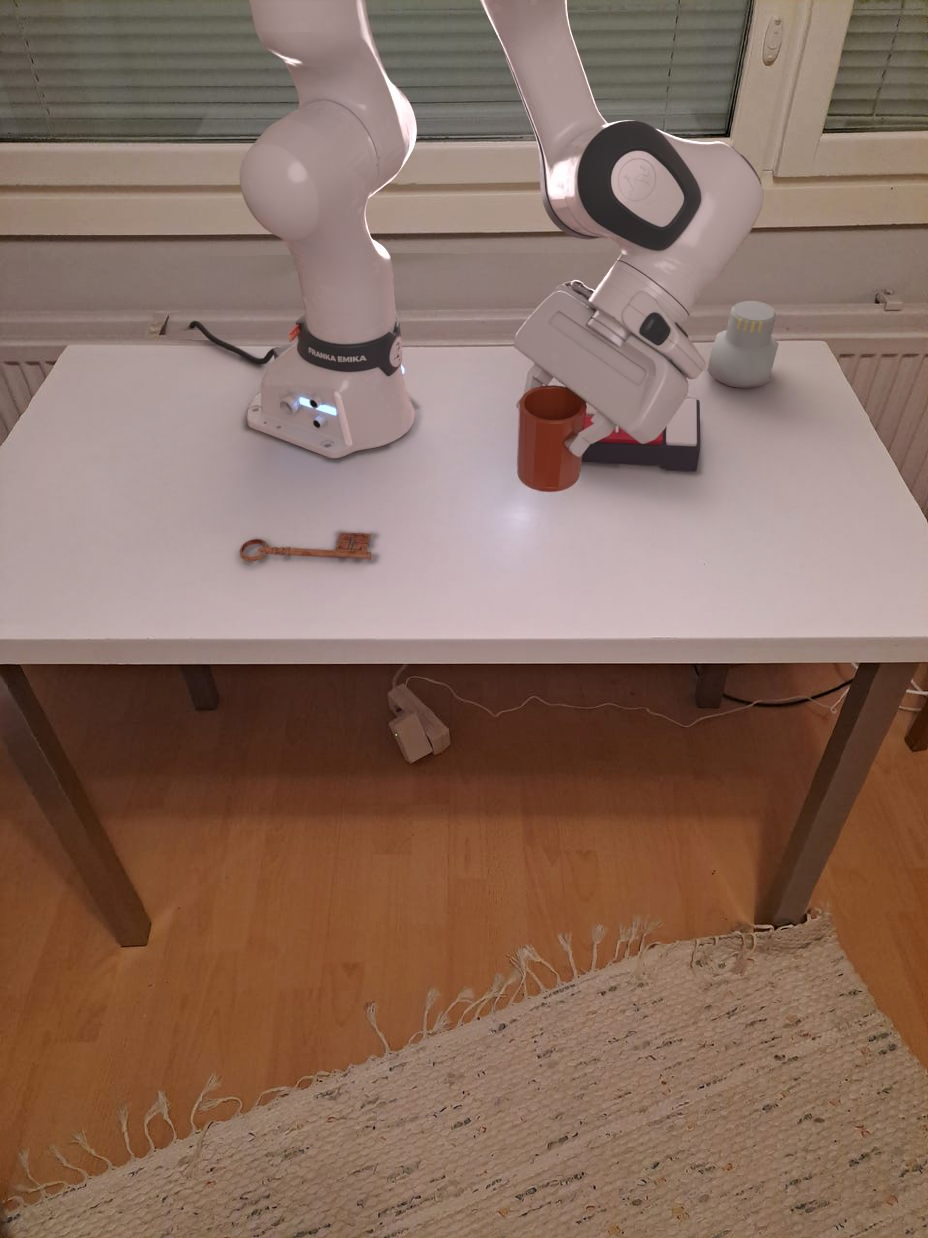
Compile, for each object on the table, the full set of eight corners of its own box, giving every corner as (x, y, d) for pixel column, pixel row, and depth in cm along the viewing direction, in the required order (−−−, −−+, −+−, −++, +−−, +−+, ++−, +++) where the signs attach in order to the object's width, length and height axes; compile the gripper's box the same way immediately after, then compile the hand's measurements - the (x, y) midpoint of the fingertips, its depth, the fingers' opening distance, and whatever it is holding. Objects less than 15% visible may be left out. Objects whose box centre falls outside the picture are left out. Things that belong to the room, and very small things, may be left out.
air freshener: (762, 402, 124) (780, 335, 117) (701, 391, 126) (715, 324, 119) (773, 362, 131) (791, 296, 124) (716, 352, 133) (729, 286, 126)
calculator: (584, 389, 120) (700, 393, 118) (583, 417, 124) (696, 421, 121) (577, 437, 113) (701, 443, 111) (576, 466, 116) (697, 472, 114)
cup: (508, 484, 95) (510, 415, 89) (527, 448, 99) (531, 380, 93) (570, 497, 94) (576, 428, 87) (586, 460, 98) (593, 391, 92)
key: (375, 538, 107) (249, 532, 107) (375, 532, 106) (248, 525, 107) (368, 569, 102) (236, 562, 103) (367, 563, 102) (235, 556, 102)
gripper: (552, 258, 92) (471, 372, 96) (690, 345, 80) (593, 472, 84) (583, 288, 97) (506, 396, 101) (718, 374, 85) (625, 493, 89)
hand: (546, 431), depth 92 cm, fingers closed on cup, 7 cm apart
